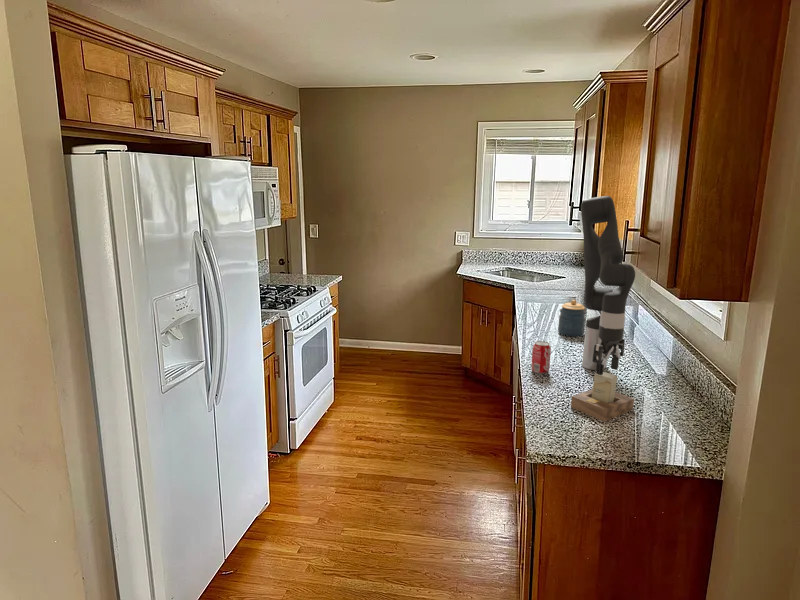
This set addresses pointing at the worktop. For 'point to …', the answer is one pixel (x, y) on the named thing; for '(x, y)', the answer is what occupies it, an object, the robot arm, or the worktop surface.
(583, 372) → the worktop surface
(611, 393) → the skincare box
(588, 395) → the brown square frame block
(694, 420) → the worktop surface
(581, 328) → the canister
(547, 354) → the soda can
